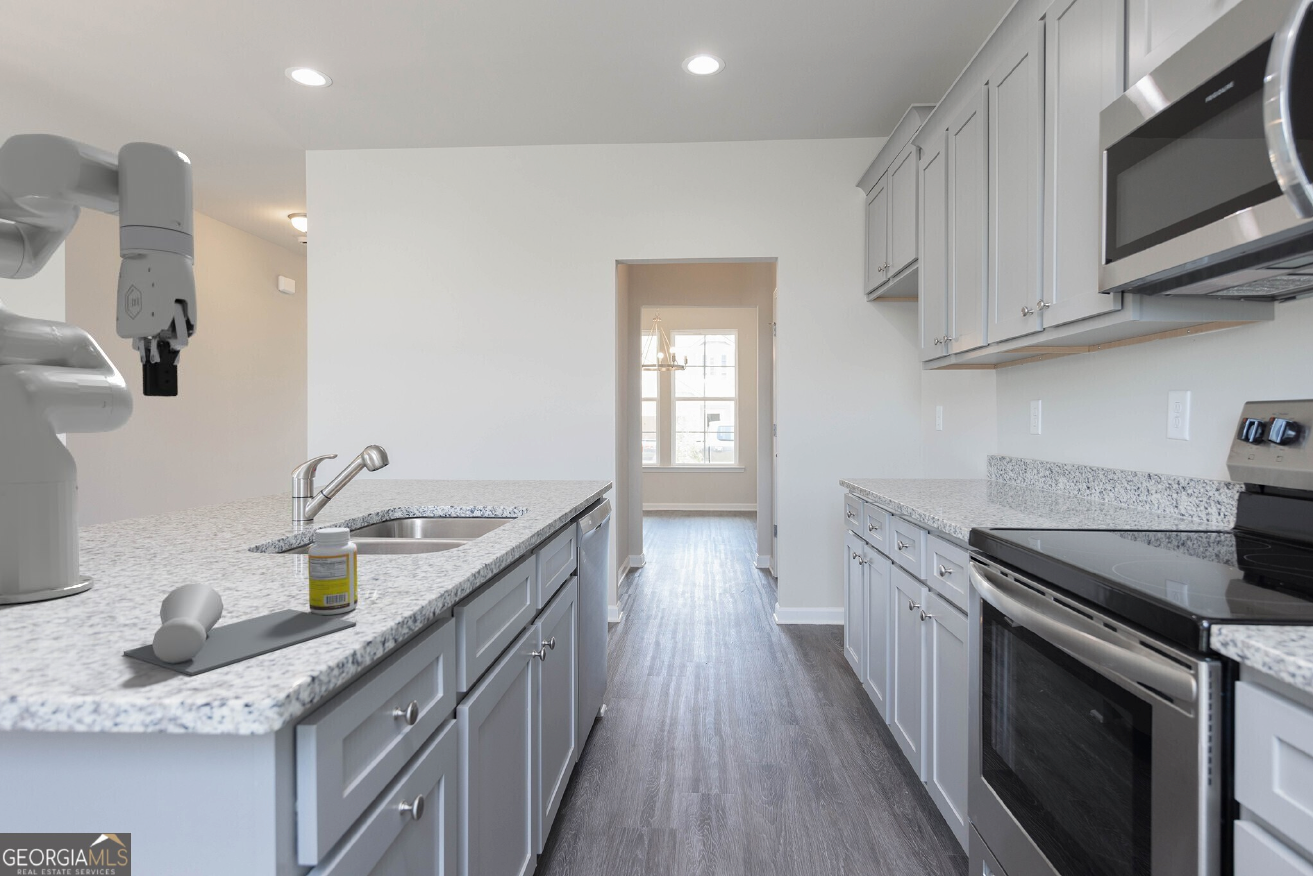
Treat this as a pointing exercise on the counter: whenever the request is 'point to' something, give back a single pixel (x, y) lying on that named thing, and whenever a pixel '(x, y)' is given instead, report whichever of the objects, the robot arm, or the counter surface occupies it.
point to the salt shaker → (186, 622)
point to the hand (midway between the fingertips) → (160, 395)
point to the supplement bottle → (332, 572)
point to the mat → (249, 639)
